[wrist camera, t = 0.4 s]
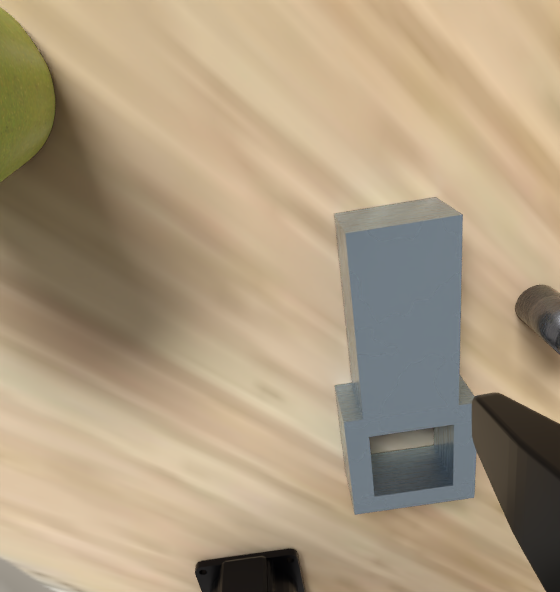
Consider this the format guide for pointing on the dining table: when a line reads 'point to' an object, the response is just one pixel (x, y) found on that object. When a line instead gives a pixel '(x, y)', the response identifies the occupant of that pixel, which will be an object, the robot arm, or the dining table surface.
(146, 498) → the dining table surface
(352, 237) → the link
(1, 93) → the plant pot
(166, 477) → the dining table surface
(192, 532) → the dining table surface
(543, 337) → the cylinder
